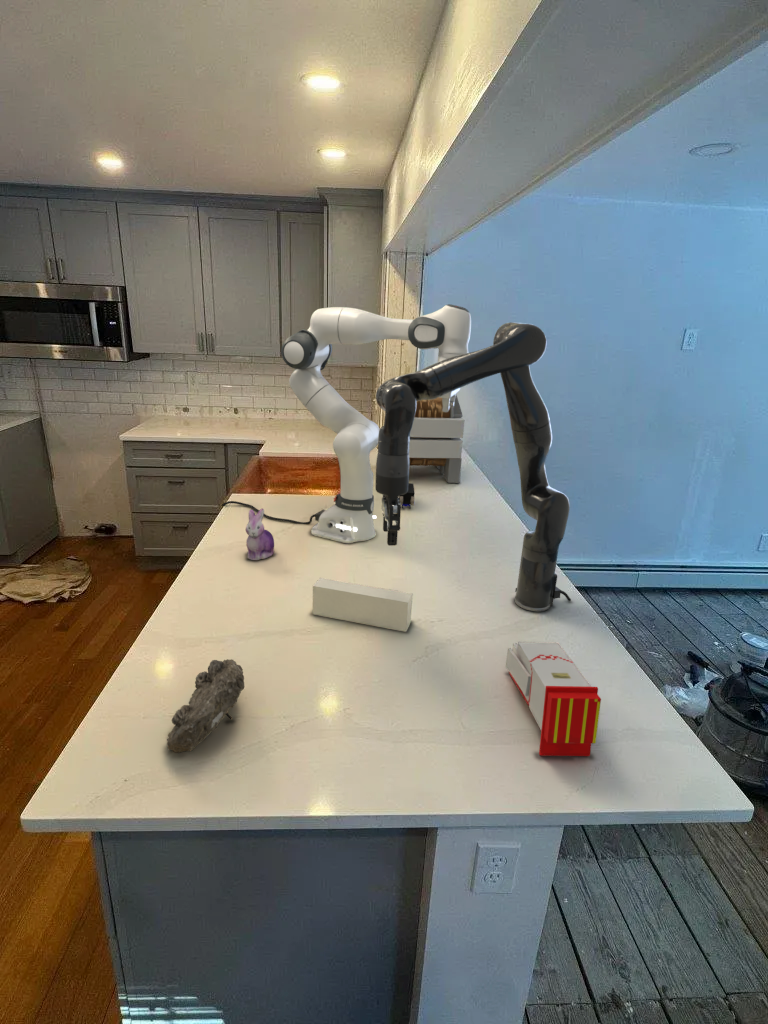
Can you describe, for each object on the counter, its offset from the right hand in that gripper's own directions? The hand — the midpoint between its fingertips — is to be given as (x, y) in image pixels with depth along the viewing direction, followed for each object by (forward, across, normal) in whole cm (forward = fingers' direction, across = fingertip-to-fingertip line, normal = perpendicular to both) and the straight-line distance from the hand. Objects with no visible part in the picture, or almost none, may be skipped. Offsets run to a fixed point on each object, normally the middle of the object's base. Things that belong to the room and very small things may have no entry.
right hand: (389, 537), depth 134 cm
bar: (+24, +4, +6) cm, 25 cm away
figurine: (+24, +44, +34) cm, 60 cm away
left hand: (-22, +48, -23) cm, 58 cm away
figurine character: (+24, +92, -19) cm, 97 cm away
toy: (+24, -32, -28) cm, 49 cm away
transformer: (+24, +139, -33) cm, 144 cm away
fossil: (+24, -31, +37) cm, 54 cm away
